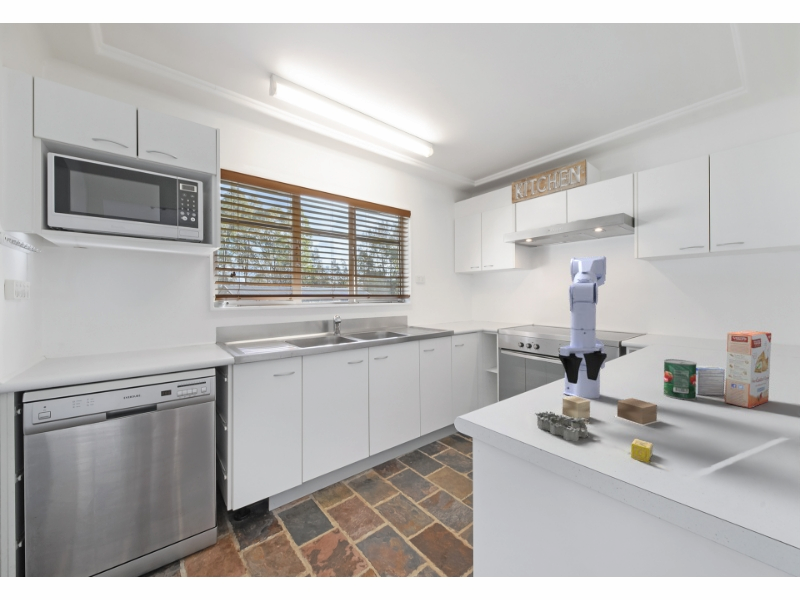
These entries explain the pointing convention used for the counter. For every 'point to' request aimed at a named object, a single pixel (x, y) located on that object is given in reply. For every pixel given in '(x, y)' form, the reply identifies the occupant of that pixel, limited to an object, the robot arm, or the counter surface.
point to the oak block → (576, 407)
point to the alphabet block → (641, 450)
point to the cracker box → (747, 368)
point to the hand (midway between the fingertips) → (582, 381)
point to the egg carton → (563, 425)
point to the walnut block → (637, 411)
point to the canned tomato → (680, 379)
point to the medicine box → (710, 380)
